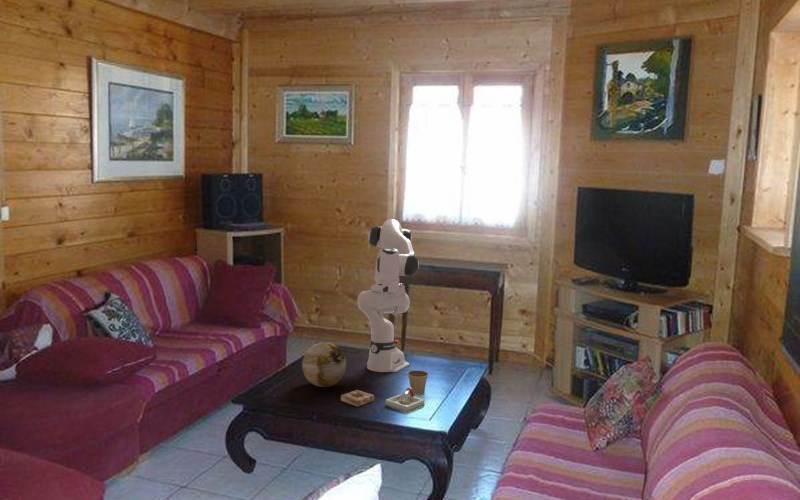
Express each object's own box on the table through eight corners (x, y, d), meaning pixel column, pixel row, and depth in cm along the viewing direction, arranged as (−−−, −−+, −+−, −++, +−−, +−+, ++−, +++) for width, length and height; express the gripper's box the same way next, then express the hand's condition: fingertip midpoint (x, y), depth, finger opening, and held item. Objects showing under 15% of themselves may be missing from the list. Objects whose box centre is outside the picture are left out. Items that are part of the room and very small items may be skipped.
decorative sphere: (338, 395, 295) (339, 350, 292) (295, 390, 299) (296, 346, 296) (350, 381, 314) (351, 339, 312) (310, 377, 318) (310, 335, 315)
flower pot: (413, 396, 296) (413, 377, 295) (403, 390, 304) (403, 371, 303) (431, 394, 300) (432, 375, 299) (421, 387, 308) (422, 369, 307)
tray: (403, 398, 293) (403, 393, 293) (424, 405, 285) (424, 399, 285) (385, 405, 284) (385, 399, 284) (406, 412, 277) (406, 406, 276)
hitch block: (357, 395, 296) (357, 389, 295) (374, 400, 289) (374, 395, 289) (340, 400, 288) (340, 395, 288) (357, 406, 282) (357, 401, 281)
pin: (397, 403, 285) (407, 395, 290) (405, 406, 282) (415, 397, 288) (395, 395, 284) (406, 386, 289) (403, 397, 281) (414, 388, 286)
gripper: (399, 282, 305) (398, 312, 307) (367, 287, 289) (367, 319, 291) (409, 284, 301) (408, 314, 303) (378, 289, 285) (377, 321, 287)
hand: (388, 316), depth 297 cm, fingers open, 8 cm apart
